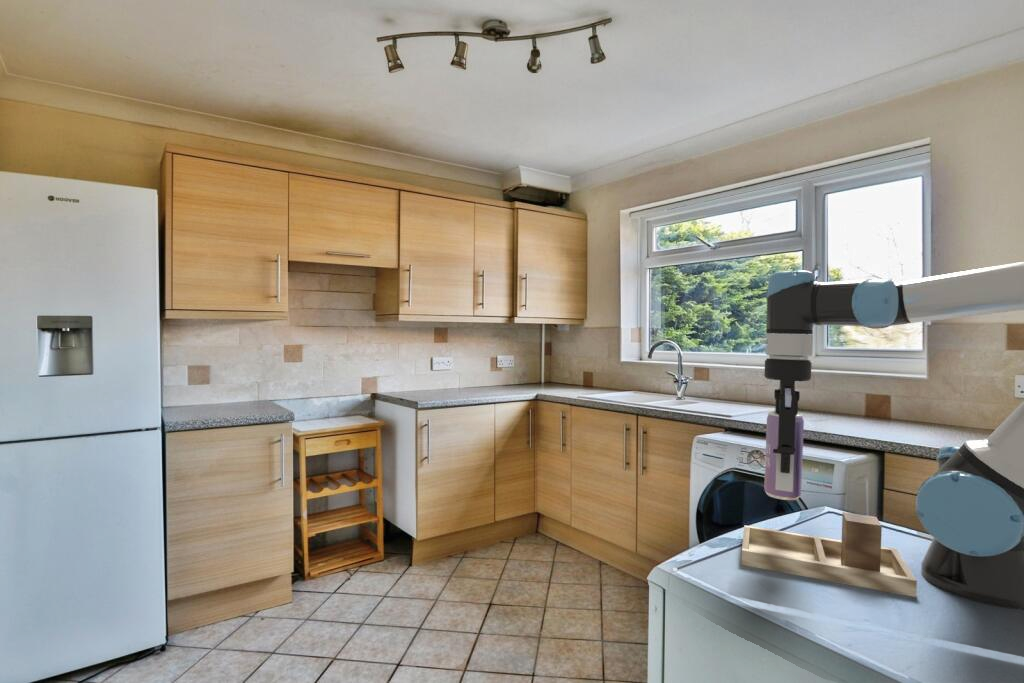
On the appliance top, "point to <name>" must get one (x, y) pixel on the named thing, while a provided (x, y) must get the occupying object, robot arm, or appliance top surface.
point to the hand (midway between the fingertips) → (783, 485)
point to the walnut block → (861, 542)
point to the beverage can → (771, 457)
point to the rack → (822, 560)
